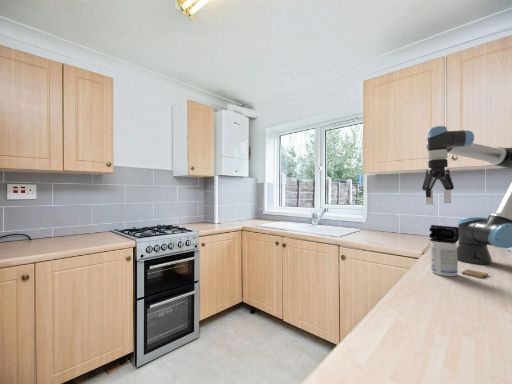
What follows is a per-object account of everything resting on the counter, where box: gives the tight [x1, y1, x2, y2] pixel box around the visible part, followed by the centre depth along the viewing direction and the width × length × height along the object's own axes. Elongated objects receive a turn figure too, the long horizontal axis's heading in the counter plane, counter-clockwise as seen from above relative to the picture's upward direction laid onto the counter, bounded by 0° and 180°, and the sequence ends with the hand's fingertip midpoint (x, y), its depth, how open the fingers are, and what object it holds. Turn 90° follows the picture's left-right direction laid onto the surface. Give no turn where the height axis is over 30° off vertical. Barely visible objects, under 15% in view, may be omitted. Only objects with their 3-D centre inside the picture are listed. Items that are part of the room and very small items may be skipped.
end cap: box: [429, 224, 459, 244], centre depth 115 cm, size 10×7×7 cm
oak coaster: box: [461, 268, 489, 279], centre depth 113 cm, size 7×7×1 cm
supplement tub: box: [430, 241, 459, 277], centre depth 115 cm, size 10×10×15 cm
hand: (438, 203), depth 122 cm, fingers open, 13 cm apart
